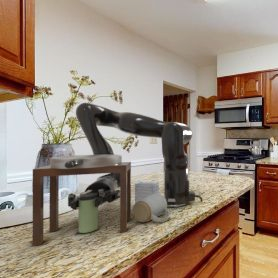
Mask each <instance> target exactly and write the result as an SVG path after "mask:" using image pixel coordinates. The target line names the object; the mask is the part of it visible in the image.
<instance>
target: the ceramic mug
mask: <svg viewBox="0 0 278 278" xmlns="http://www.w3.org/2000/svg"><path fill="white" fill-rule="evenodd" d="M164 214H165V215H166V217H160V216H162V215H164ZM132 215H133V217H134V219H135V220H136V221H137V222H139V223H148V222H150V221H154V222H156V223H165V222H167V221H168V220H169V219H170V216H171V213H170V210H168V207H167V201H166V199H165V198H164V194H161V193H160V192H159V193H154V194H152V195H150V196H148V197H146V198H143V199H141V200H139V201H138V202H137V203H136V204H135V203H134V205H133V206H132Z"/></svg>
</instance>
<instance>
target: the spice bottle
mask: <svg viewBox="0 0 278 278" xmlns="http://www.w3.org/2000/svg"><path fill="white" fill-rule="evenodd" d="M96 198H97V194H96V193H89V194H84V195H81V196H79V207H78V233H79V234H87V233H91V232H94V231H96V230H98V229H99V207H95V199H96Z"/></svg>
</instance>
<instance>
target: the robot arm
mask: <svg viewBox="0 0 278 278" xmlns="http://www.w3.org/2000/svg"><path fill="white" fill-rule="evenodd" d="M84 109H85V110H84ZM75 116H76V120H77V119H78V120H77V122H78V121H79V122H80V123H79V122H78V124H79V126H80V125H81V126H80V128H81V130H82V133H83V134H84V136H85V138H86V140H87V142H88V144H89V146H90V149H91V151H92V155H115V153H114V150H113V148H112V146H111V144H110V143H109V142H108V141H107V139H106V138H105V137H104V136H103V134H102V133H101V131H100V130H99V128H98V127H107V128H115V129H117V130H118V131H120V132H122V133H124V134H125V133H126V134H129V135H133V136H137V137H138V136H139V137H146V138H159V139H161V153H162V157H163V159H164V164H163V168H164V173H163V174H164V175H163V177H164V179H163V181H164V182H163V183H164V184H163V187H164V188H163V189H164V191H163V192H164V193H163V196H164V198H165V199H166V201H167V208H180V207H183V206H188V205H190V202H195V201H196V198H197V199H198V198H199V199H200V202H201V203H202V202H203V201H204V200H203V197H202V196H200V195H198V194H196V192H195V191H194V190H190V180H189V154H188V153H186V152H185V147H184V145H186V144H187V143H189V142H190V141H191V140H192V138H193V131H192V129H191V128H190V127H189V126H188V125H187V124H186V123H182V122H178V121H177V122H176V121H170V122H169V121H163V120H160V119H157V118H154V117H151V116H147V115H144V114H141V113H136V112H129V111H122V112H119V111H116V110H112V109H109V108H107V107H105V106H101V105H98V104H94V103H90V102H82V103H80V104H78V106H77V108H76V109H75ZM89 193H96V194H97V198H96V199H95V207H98V208H99V207H100V206H102V205H103V204H105V203H109V204H110V203H113V202H114V201H116V200H118V199H120V173H105V174H104V175H103V174H102V175H101V176H98V177H97V178H96V179H95V181H94V182H92V183H91V184H89V185H88V186H87V187H86V188H85V190H84V192H81V193H80V194H76V193H72V192H71V193H69V194H68V196H67V207H69V208H70V209H72V211H73V210H77V209H79V196H81V195H84V194H89Z"/></svg>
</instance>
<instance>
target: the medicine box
mask: <svg viewBox="0 0 278 278" xmlns="http://www.w3.org/2000/svg"><path fill="white" fill-rule="evenodd" d="M159 184H160V182H159V181H139V182H136V183H134V205H135V204H136V203H137V202H138V201H139V200H141V199H143V198H146V197H148V196H150V195H152V194H154V193H159V194H160V185H159Z"/></svg>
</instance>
